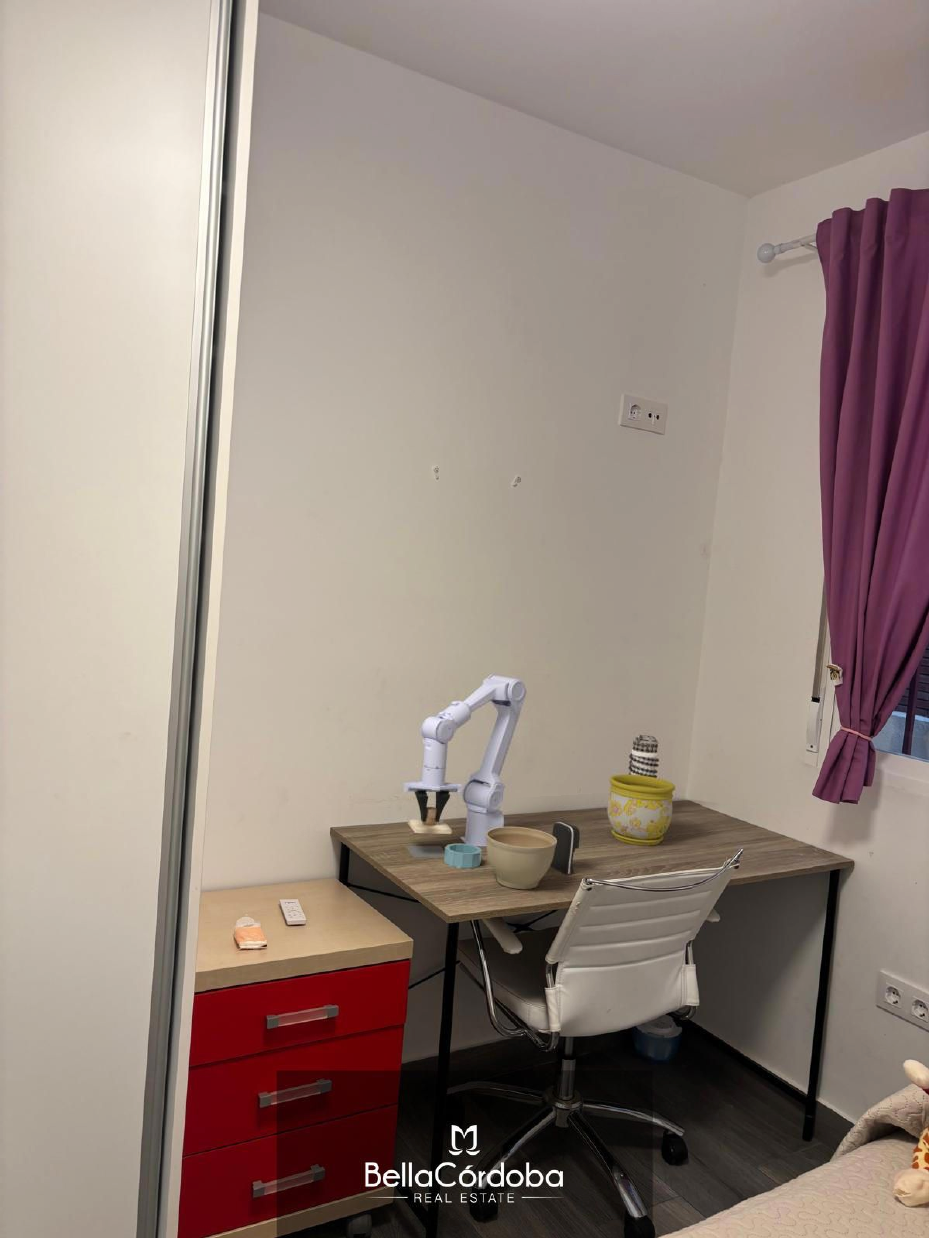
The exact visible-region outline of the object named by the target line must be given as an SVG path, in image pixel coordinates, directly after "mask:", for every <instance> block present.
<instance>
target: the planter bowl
mask: <svg viewBox="0 0 929 1238" xmlns="http://www.w3.org/2000/svg"><path fill="white" fill-rule="evenodd" d="M486 839H487V846H486V854H487V859H488V861H489V864H490V867H491V868H492V871H493V873H494V874H495V877H496V881H497V883H499V884H500V885H502V886H504V887H507V888H510V889H515V890H516V889H518V890H531V889H534V888H537V887H538V885H539V883H540V880H541V879H542V878H543V877H544V876H545V875H546V873H547V872H548V871H549V869H550V865H551V862H552V860H553V856H554V852H555V847H556V844H557V840H556V838H555V837H553V836H552V834H550V833H547V832H545V831H543V830H538V829H534V828H528V827H522V826H521V827H520V826H504V827H498V828H493V829H490V830H489V831H487V833H486Z"/></svg>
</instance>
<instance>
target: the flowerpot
mask: <svg viewBox="0 0 929 1238" xmlns="http://www.w3.org/2000/svg"><path fill="white" fill-rule="evenodd" d="M609 783H610V784H611V785H610V786H609V787H610V788H609V790H610V791H609V796H608V801H607V809H606V810H607V817H608V822H609V823H610V825H611V827H612V828H613V829H611V833H612V835H613V836H614V838H615V839H616V840H617V841H620V842H622V843H625V842H626V844H630V845H635V846H643V845H645V847H646V846H649V845H651V846H656V845H659V844H660V843H661V841H663V840H664V836H663V834H665V833H666V832H667V830H668V828H669V826H670V824H671V822H672V818H673V817H672V816H673V797H674V794H673V792H674V791H675V789H676V786H675V784H674V783H672V782H671V781H668V780H666V779H661V778H658V777H657V778H654V777H648V776H640V775H628V774H615V775H612V776H610V778H609ZM649 847H650V846H649Z"/></svg>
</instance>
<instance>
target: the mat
mask: <svg viewBox="0 0 929 1238" xmlns="http://www.w3.org/2000/svg"><path fill="white" fill-rule="evenodd" d="M405 849H407V850H408V852H409V854H410V855H411V856H412V857H413V858H444V855H445V849H443V848H442V846H441V845H405Z"/></svg>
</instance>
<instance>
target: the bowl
mask: <svg viewBox="0 0 929 1238" xmlns="http://www.w3.org/2000/svg"><path fill="white" fill-rule="evenodd" d="M444 851H445V855H444V857H443V861H444V863H445V864H446V865H447V866H449V867H452V868H456V869H465V870H467V869H476V868H478V867H480V865H481V863H482V855H483V854H482V853H483V852H482V851H483V850H482V849H481V848H480V846H474V845H469V844H466V843H451V844H447V845H446V846H445V847H444Z"/></svg>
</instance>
